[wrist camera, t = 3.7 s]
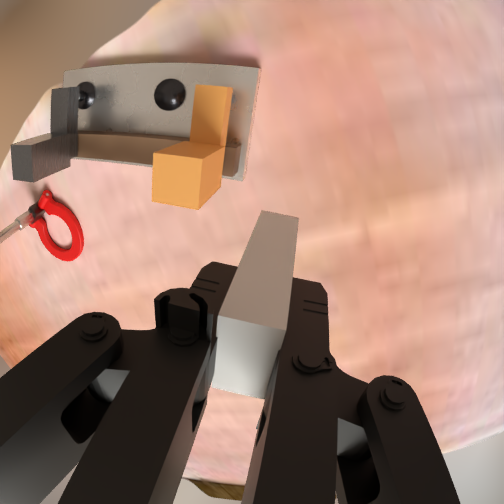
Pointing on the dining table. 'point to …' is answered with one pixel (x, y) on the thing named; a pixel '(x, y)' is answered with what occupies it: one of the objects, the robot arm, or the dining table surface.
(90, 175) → the dining table surface
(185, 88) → the bolt plate
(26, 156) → the fixed leg
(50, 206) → the tow hook
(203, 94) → the orange toy chair
